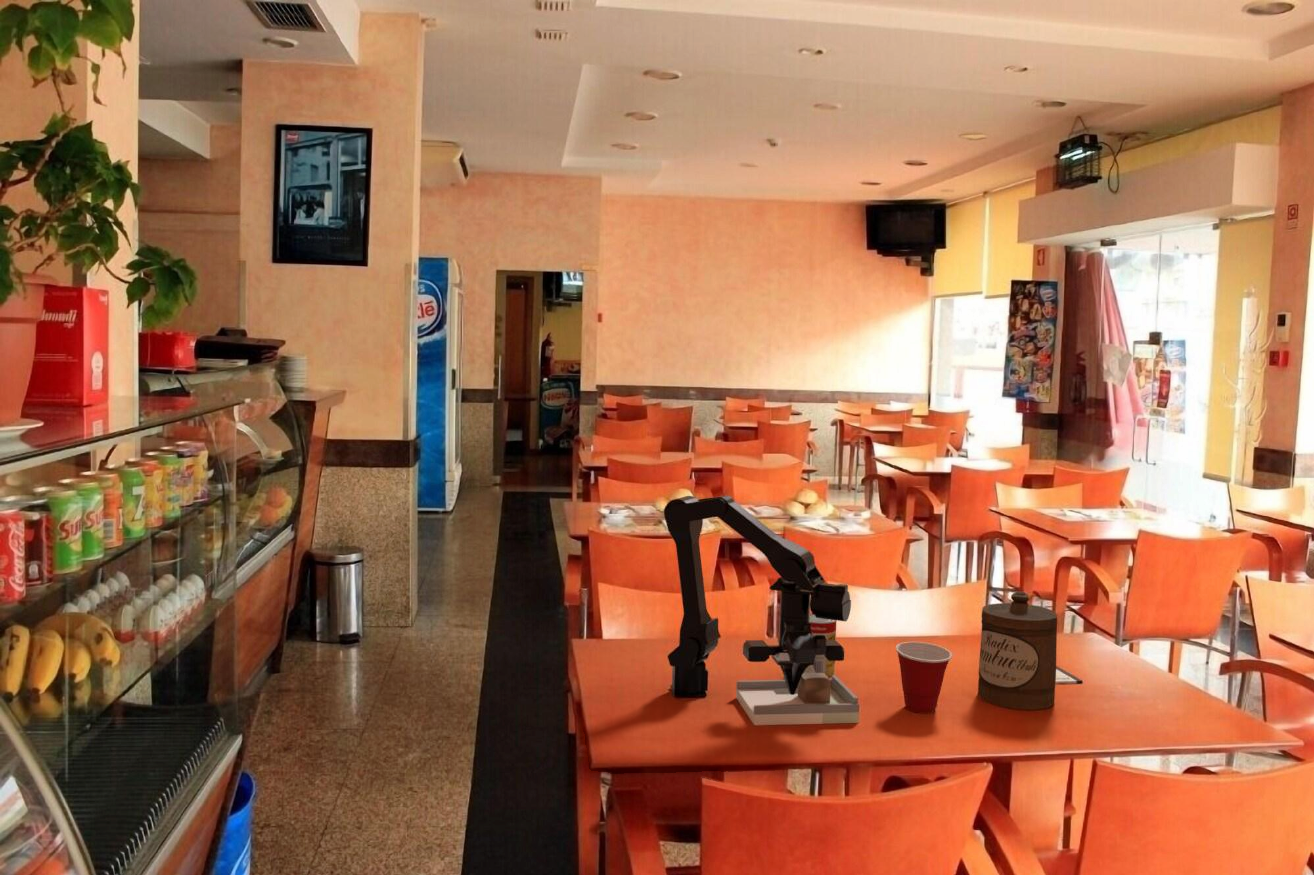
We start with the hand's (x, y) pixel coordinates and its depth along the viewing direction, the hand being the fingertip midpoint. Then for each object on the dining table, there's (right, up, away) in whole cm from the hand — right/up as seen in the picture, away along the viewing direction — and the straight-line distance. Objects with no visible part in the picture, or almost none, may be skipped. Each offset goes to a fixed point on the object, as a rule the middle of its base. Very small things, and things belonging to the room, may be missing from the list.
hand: (791, 694), depth 217 cm
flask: (+4, -2, +19) cm, 20 cm away
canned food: (+8, -1, +26) cm, 27 cm away
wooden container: (+47, -4, +11) cm, 48 cm away
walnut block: (+4, -1, +1) cm, 5 cm away
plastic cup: (+26, -4, +3) cm, 26 cm away
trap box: (+1, -3, +1) cm, 3 cm away
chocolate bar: (+59, -3, +31) cm, 67 cm away
